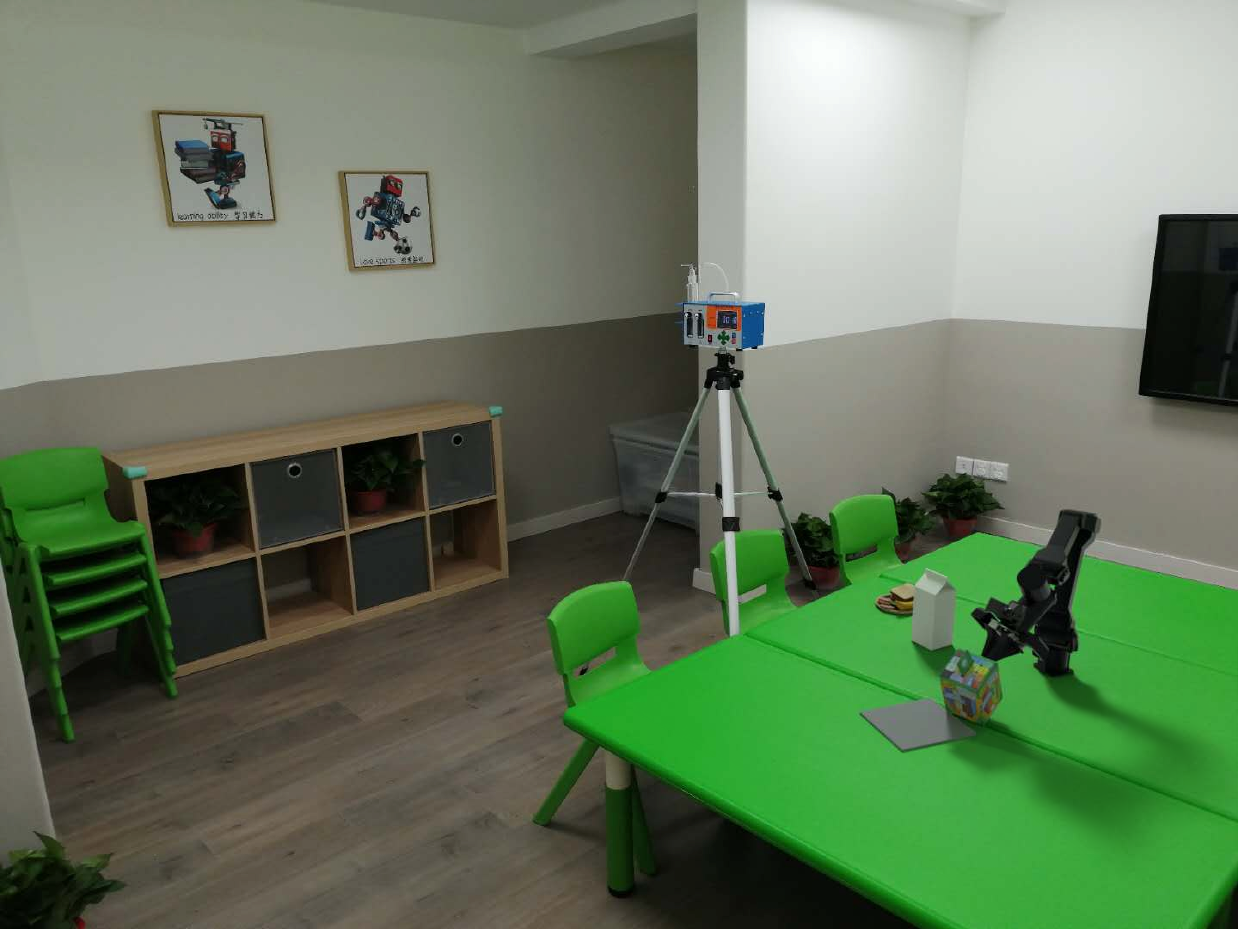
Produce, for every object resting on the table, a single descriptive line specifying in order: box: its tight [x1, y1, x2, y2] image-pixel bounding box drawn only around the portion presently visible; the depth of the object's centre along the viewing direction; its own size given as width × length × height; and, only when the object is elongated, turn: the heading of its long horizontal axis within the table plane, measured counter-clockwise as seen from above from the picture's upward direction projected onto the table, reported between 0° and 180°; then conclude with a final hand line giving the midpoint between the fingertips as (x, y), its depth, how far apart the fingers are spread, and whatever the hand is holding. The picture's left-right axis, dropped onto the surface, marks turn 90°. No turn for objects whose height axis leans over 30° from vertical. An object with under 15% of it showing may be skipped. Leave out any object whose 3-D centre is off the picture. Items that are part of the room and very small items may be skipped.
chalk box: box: [938, 648, 1003, 727], centre depth 200 cm, size 9×9×15 cm
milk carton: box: [910, 568, 957, 652], centre depth 235 cm, size 7×7×19 cm
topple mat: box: [859, 697, 978, 752], centre depth 201 cm, size 18×16×1 cm
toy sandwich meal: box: [875, 582, 916, 615], centre depth 260 cm, size 12×14×5 cm
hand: (983, 662), depth 201 cm, fingers closed
